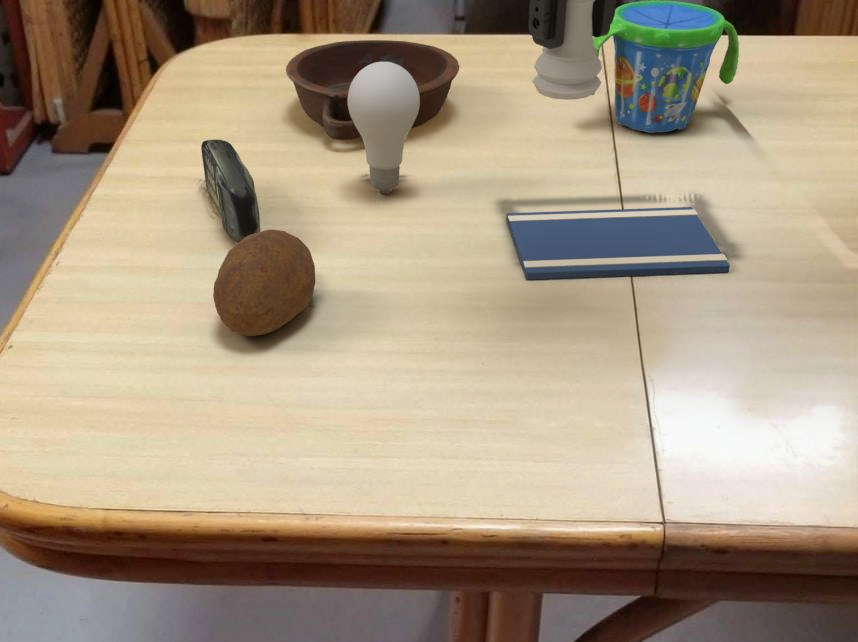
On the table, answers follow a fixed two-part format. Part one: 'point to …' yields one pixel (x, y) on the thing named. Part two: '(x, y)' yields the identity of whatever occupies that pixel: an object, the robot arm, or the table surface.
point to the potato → (264, 282)
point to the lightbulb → (383, 118)
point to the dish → (341, 61)
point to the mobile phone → (231, 188)
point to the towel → (614, 243)
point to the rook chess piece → (571, 58)
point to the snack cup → (664, 61)
